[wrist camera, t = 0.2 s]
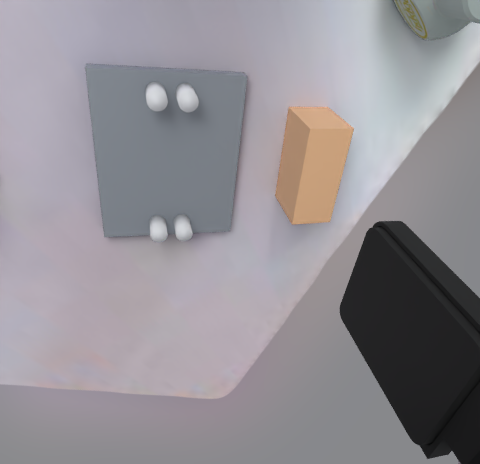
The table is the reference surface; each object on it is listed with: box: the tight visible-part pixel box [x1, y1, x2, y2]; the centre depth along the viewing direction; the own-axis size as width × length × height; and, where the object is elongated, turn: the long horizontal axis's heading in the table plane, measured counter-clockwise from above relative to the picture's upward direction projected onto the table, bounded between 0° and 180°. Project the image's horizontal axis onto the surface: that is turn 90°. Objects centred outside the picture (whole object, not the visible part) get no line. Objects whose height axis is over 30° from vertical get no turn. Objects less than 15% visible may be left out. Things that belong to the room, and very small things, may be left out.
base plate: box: [85, 64, 247, 242], centre depth 44 cm, size 20×16×4 cm
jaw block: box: [275, 107, 354, 224], centre depth 47 cm, size 12×5×7 cm, turn 176°
